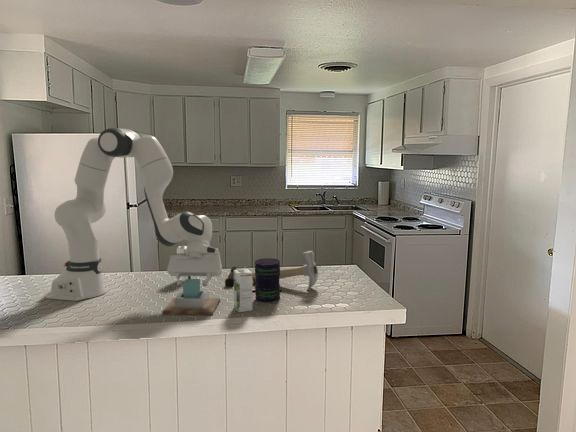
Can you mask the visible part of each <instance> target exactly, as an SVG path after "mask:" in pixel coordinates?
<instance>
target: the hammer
mask: <svg viewBox="0 0 576 432" xmlns="http://www.w3.org/2000/svg"><path fill="white" fill-rule="evenodd" d="M301 257H302V259H303V261H304V262H305V264H304V265H302V266H296V267H287V268H280V276H279V280H280V279H285V278H291V277H292V278H293V277H297V276H303V277H308V281H309V282H308V287H307V289H305V290H306V291H308V290H310V289H311V288H312V287H313V286H315V285H316V283H317V281H318V277H319V270H318V265H317V264H316V262H315V260H314V259H315V253H314V251H313V250H307V251H304V252H302V256H301ZM251 272H252V283H256V276H255V270H254V271H251Z"/></svg>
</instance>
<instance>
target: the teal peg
mask: <svg viewBox="0 0 576 432" xmlns="http://www.w3.org/2000/svg"><path fill="white" fill-rule="evenodd" d="M182 290H183V297H200V290H201V278H192V279H186V280H185V281H184V282H182Z"/></svg>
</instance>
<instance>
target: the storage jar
mask: <svg viewBox="0 0 576 432" xmlns="http://www.w3.org/2000/svg"><path fill="white" fill-rule="evenodd" d="M280 263H281V261H280V259H278V258H259V259H256V260H255V261H254V271H255V276H256V282H255V287H254V293H255V301H256V302H258V303H265V304H266V303H267V304H268V303H270V304H271V303H276V302H279V301H280V300H281V284H280V279H279V276H280V269H281V265H280Z"/></svg>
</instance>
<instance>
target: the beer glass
mask: <svg viewBox="0 0 576 432" xmlns="http://www.w3.org/2000/svg"><path fill="white" fill-rule="evenodd" d="M186 249H187V245H180V246H177V247H176V253H186ZM186 279H193V276H181V277H180V278H179V280H182V283H183V282H184V281H185V280H186Z"/></svg>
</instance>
